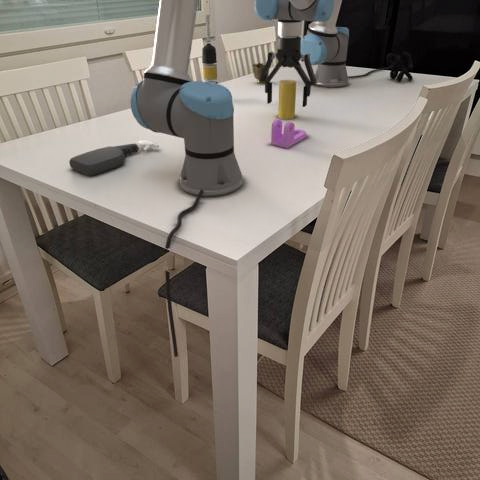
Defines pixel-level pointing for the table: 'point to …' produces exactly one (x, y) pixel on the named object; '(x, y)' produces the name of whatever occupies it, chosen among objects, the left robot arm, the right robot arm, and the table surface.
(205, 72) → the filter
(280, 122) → the bracket
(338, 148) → the table surface
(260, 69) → the cup
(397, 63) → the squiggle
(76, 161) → the spray bottle
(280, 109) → the canister
